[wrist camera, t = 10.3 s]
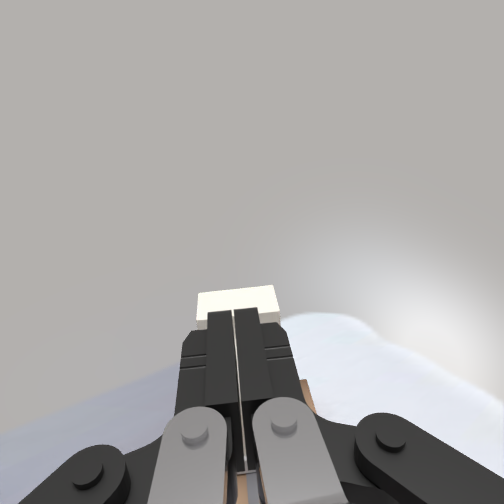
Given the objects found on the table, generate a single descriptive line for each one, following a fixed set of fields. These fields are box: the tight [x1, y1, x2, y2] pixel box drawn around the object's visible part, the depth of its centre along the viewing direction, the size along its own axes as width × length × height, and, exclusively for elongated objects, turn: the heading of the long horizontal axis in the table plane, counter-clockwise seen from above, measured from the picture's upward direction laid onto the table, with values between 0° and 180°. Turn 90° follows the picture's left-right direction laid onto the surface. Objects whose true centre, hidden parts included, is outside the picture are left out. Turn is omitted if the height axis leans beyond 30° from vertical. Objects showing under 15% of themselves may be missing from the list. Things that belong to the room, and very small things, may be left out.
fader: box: [196, 285, 281, 474], centre depth 24 cm, size 4×4×12 cm
